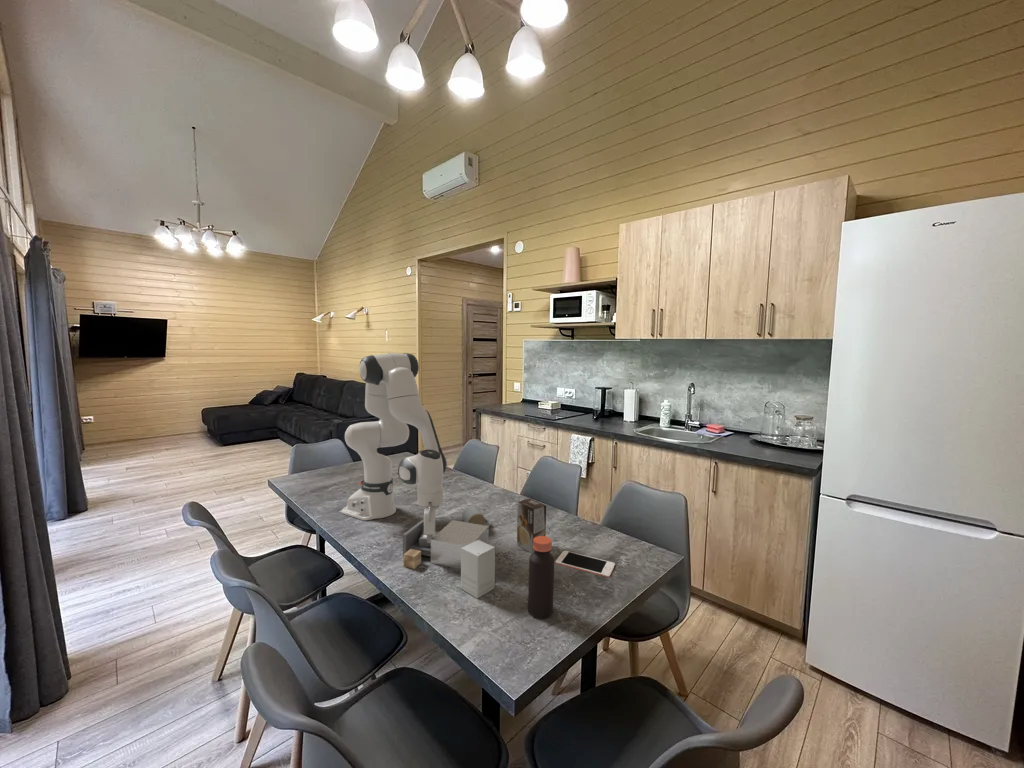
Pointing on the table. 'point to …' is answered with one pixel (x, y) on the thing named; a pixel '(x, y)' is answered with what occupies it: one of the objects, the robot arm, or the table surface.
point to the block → (412, 558)
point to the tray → (415, 539)
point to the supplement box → (477, 568)
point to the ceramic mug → (474, 516)
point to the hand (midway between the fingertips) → (429, 535)
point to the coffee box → (530, 522)
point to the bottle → (541, 578)
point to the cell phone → (586, 563)
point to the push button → (425, 540)
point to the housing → (455, 542)
